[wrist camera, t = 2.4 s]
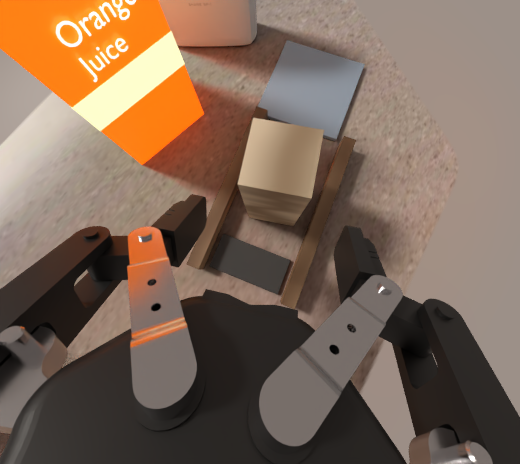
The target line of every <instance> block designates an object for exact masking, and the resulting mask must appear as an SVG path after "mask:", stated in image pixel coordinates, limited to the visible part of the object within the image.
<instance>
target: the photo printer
mask: <svg viewBox="0 0 520 464" xmlns="http://www.w3.org/2000/svg"><path fill="white" fill-rule="evenodd" d="M158 1H159V4H160V6H161V9H162V11H163V13H164V16H165V18H166V21H167V23H168V26H169V28H170V30H171V31H172V34H173V36H174V39H175V41H176V44H177V45H178V46H238V45H248V44H251V43H252V42H253V40H254V39H255V37H256V34H257V16H256V0H158Z"/></svg>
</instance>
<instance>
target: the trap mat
mask: <svg viewBox="0 0 520 464" xmlns="http://www.w3.org/2000/svg"><path fill="white" fill-rule="evenodd" d="M289 263H290V260H288V259H286V258H283V257H281V256H278V255H276V254H273V253H271V252H268V251H266V250H263V249H261V248H258V247H256V246H253V245H251V244H248V243H246V242H243V241H241V240H238V239H236V238H233V237H231V236H228V235H226V234H223V236H222V238H221V240H220V243H219V245H218V247H217V250H216V252H215V254H214V257H213V259H212V261H211V264H210V267H213V268H215V269H217V270H220V271H222V272H225V273H227V274H229V275H232V276H234V277H237V278H239V279H241V280H244V281H246V282H249V283H251V284H254V285H256V286H258V287H261V288H263V289H266V290H268V291H270V292H273V293H275V294H278V292H279V289H280V286H281V284H282V281H283V279H284V276H285V273H286V271H287V268H288V265H289Z"/></svg>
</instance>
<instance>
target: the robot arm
mask: <svg viewBox="0 0 520 464" xmlns="http://www.w3.org/2000/svg"><path fill="white" fill-rule="evenodd" d="M206 221H207V216H206V198H205V197H203V196H198V195H193V194H192V195H190V196H189V197H188V198H187V200H186V201H180V202H178V203H176V204H174V205H173V206H172V207H171V208H170V209H169V210H167V211H166V212H165V214H163V215H162V216H161V217H160V218H159V219H158V220H157V221H156V222H155V223H154V224H153V225H152V226H151V227H142V228H138V229H136V230H134V231H132V232H131V233H130V234H129V235H128V236H111V234H110V231H109V230H108V229H107V228H105V227H101V226H93V227H88V228H85V229H82V230H80V231H78V232H76V233H75V234H74V235H72V236H71V237H70V238H68V239H67V240H66V241H64V242H63V243H62V244H60V245H59V246H58V247H56V248H55V249H54V250H52V251H51V252H50V253H48V254H47V255H46V256H44V257H43V258H42V259H40V260H39V261H38V262H36V263H35V264H33V265H32V266H31V267H29V268H28V269H27V270H25V271H24V272H23V273H21V274H20V275H19V276H17V277H16V278H15V279H13V280H12V281H11V282H9V283H8V284H7V285H5V286H4V287H3V288H1V289H0V432H1V433H7V434H10V436H9V439H8V442H7V444H6V447H5V449H4V451H3V453H2V455H1V457H0V464H407V463H406V462H405V460H404V458H403V457H402V455H401V454H400V452H399V450H398V449H397V447H396V446H395V445H394V443H393V442H392V440H391V439H390V437H389V436H388V434H387V433H386V431H385V430H384V429H383V427H382V426H381V424H380V423H379V421H378V420H377V418H376V417H375V415H374V414H373V413H372V411H371V410H370V408H369V407H368V406H367V404H366V402H365V401H364V399H363V398H362V396H361V395H360V394H359V392H358V391H357V389H356V388H355V386H354V385H353V383H352V382H351V380H350V378H351V377H352V375H353V374H354V372H355V371H356V369H357V367H358V366H359V364H360V363H361V361H362V360H363V358H364V357H365V355H366V354H367V352H368V351H369V349H370V348H371V346H372V345H373V343H374V342H375V340H376V339H377V337H378V336H379V337H381V338H383V339H385V340H387V341H389V342H391V343H392V345H393V349H394V353H395V356H396V360H397V364H398V368H399V372H400V376H401V380H402V384H403V388H404V392H405V395H406V399H407V403H408V407H409V411H410V415H411V419H412V423H413V427H414V430H415V435H416V437H415V438H413V439H412V441H411V443H410V445H409V458H410V463H409V464H520V417H519V415H518V414H517V412H516V410H515V408H514V407H513V405H512V403H511V401H510V400H509V398H508V396H507V395H506V393H505V391H504V389H503V387H502V386H501V384H500V382H499V381H498V379H497V377H496V375H495V374H494V372H493V370H492V368H491V367H490V365H489V363H488V361H487V360H486V358H485V357H484V355H483V353H482V351H481V349H480V348H479V346H478V344H477V342H476V341H475V339H474V337H473V336H472V334H471V332H470V330H469V329H468V327H467V325H466V323H465V322H464V320H463V318H462V317H461V315H460V314H459V313H458V312H457V311H456V310H455V309H454V308H453V307H451V306H450V305H448V304H446V303H445V302H442V301H440V300H437V299H428V300H426V301H425V302H424V303H423V304H420V303H418V302H416V301H414V300H412V299H409V298H407V297H405V296H403V293H402V290H401V288H400V287H399V286H398V285H397V284H396V283H395V282H394V281H392V280H391V279H389V278H387V277H386V274H385V272H384V269H383V267H382V264H381V262H380V259H379V257H378V254H377V251H376V249H375V246H374V245H373V244H372V243H371V242H370V240H369V239H366V238H364V237H363V234H362V231H361V229H360V228H357V227H352V226H345V227H344V229H343V231H342V233H341V236H340V238H339V240H338V242H337V245H336V247H335V251H334V261H335V268H336V275H337V282H338V288H339V295H340V302H341V305H340V306H339V307H338V308H337V309H336V310H335V311H334V312H333V313H332V314H331V316H330V317H329V318H328V319H327V320H326V321H325V322H324V323H323V324H322V325H321V326H320V327H319V328H318V329H317V330H316V331H315V330H314V329H313V328H312V327H311V326H310V325H308V324H307V323H306V322H304V321H302V320H301V319H299V318H298V310H295V309H290V308H286V307H281V306H277V305H249V304H247V303H245V302H243V301H241V300H239V299H237V298H235V297H232V296H230V295H228V294H224V293H220V292H216V291H211V290H207V289H206V290H205V292H204V294H203V296H197V297H191V298H187V299H184V300H181V301H180V300H179V296H178V292H177V288H176V284H175V280H174V277H173V273H172V269H171V266H175V267H179V266H180V265H181V263H182V262H183V260H184V259H185V257H186V256H187V254H188V253H189V251H190V250H191V248H192V247H193V245H194V244H195V242H196V241H197V239H198V238H199V236H200V235H201V233H202V232H203V230H204V229H205V226H206ZM86 269H87V271H88V273H87V274H86V275H85V276H84V277H83V278H82V279H81V280H80V281H79V282H78V283H77V284H76V285H75V286H74V284H75V281H76V280H77V278H78V277H79V276H80V275H81V274H82V273H83V272H84V271H85V270H86ZM122 280H128V286H129V301H130V316H131V329H129V330H127V331H126V332H124V333H122V334H120V335H119V336H117V337H115V338H113V339H112V340H110V341H108V342H106V343H105V344H103V345H101V346H99V347H98V348H96V349H94V350H92V351H91V352H89V353H87V354H86V355H84V356H82V357H80V358H79V359H77V360H75V361H73V362H72V363H70V364H68V365H66V366H65V367H63V368H62V366H63V364H64V363H65V361H66V358H67V354H68V352H67V347H68V346H69V345H70V343H71V342H72V341H73V340H74V338H75V337H76V336H77V335H78V333H79V332H80V331H81V330H82V329H83V327H84V326H85V325H86V324H87V322H88V321H89V320H90V319H91V318H92V316H93V315H94V314H95V313H96V311H97V310H98V309H99V308H100V306H101V305H102V304H103V303H104V302H105V300H106V299H107V298H108V297H109V295H110V294H111V293H112V292H113V290H114V289H115V288H116V287H117V286H118V284H119V283H120V282H121V281H122ZM432 353H433V354H434V357H435V359H436V362H437V365H436V362H435V360H434V357H433V355H432ZM437 366H438V367H437Z"/></svg>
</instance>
